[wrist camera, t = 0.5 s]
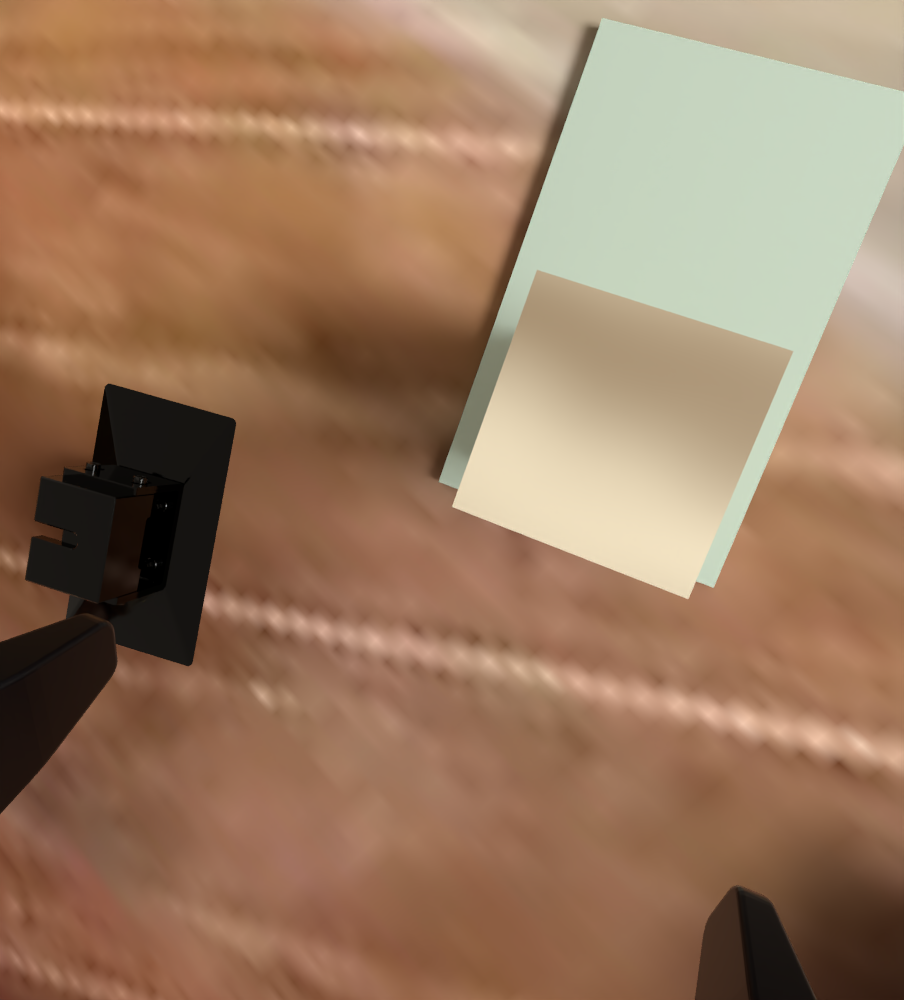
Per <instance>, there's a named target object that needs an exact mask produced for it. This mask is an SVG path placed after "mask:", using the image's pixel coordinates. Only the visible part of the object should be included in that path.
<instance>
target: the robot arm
mask: <svg viewBox="0 0 904 1000" xmlns="http://www.w3.org/2000/svg"><path fill="white" fill-rule="evenodd" d="M116 666H117V652H116V643H115V634H114V628H113V625H112V624H111V623H110V622H109V621H106V620H104V619H102V618H99V617H97V616H94V615H92V614H80V615H76V616H74V617H71V618H68V619H65V620H62V621H59V622H56V623H53V624H51V625H48V626H45V627H42V628H39V629H36V630H33V631H31V632H28V633H25V634H22V635H19V636H16V637H13V638H10V639H8V640H5V641H2V642H0V814H1V813H2V812H3V810H4V809H5V808H6V807H7V806H8V805H9V804H10V803H11V802H12V801H13V800H14V798H15V797H16V796H17V795H18V794H19V793H20V792H21V791H22V790H23V789H24V788H25V786H26V785H27V784H28V783H29V782H30V781H31V780H32V779H33V778H34V776H35V775H36V774H37V773H38V772H39V771H40V770H41V769H42V767H43V766H44V765H45V764H46V763H47V761H48V760H49V759H50V758H51V756H52V755H53V754H54V753H55V751H56V750H57V749H58V747H59V746H60V745H61V743H62V742H63V741H64V739H65V738H66V737H67V735H68V734H69V733H70V732H71V730H72V729H73V728H74V726H75V725H76V724H77V722H78V721H79V720H80V718H81V717H82V716H83V714H84V713H85V712H86V710H87V709H88V708H89V706H90V705H91V704H92V702H93V701H94V700H95V698H96V697H97V696H98V694H99V693H100V692H101V690H102V689H103V688H104V687H105V685H106V684H107V683H108V681H109V680H110V679H111V677H112V675H113V674H114V672H115V669H116ZM695 1000H817V999H816V997H815V995H814V993H813V990H812V988H811V986H810V984H809V982H808V979H807V977H806V975H805V973H804V971H803V968H802V966H801V964H800V962H799V960H798V958H797V955H796V953H795V951H794V949H793V947H792V944H791V942H790V940H789V938H788V936H787V933H786V931H785V929H784V927H783V925H782V923H781V920H780V918H779V916H778V914H777V912H776V909H775V907H774V905H773V904H772V902H771V901H770V900H769V899H768V898H767V897H765V896H764V895H761V894H759V893H757V892H754V891H752V890H750V889H747V888H745V887H742V886H739V885H736V886H733V887H732V888H731V889H730V890H729V891H728V892H727V894H726V895H725V896H724V898H723V899H722V900H721V901H720V903H719V904H718V905H717V907H716V908H715V909H714V911H713V912H712V913H711V915H710V916H709V918H708V920H707V923H706V926H705V930H704V934H703V941H702V949H701V957H700V965H699V972H698V980H697V988H696V996H695Z"/></svg>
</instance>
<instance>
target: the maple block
mask: <svg viewBox="0 0 904 1000" xmlns="http://www.w3.org/2000/svg"><path fill="white" fill-rule="evenodd" d="M792 353H793V351H791V350H788V349H785V348H782V347H779V346H776V345H773V344H769V343H766V342H763V341H760V340H757V339H754V338H750V337H747V336H744V335H741V334H738V333H735V332H732V331H728V330H725V329H722V328H719V327H716V326H713V325H710V324H706V323H703V322H700V321H697V320H694V319H691V318H687V317H684V316H681V315H678V314H675V313H672V312H669V311H665V310H662V309H659V308H656V307H653V306H650V305H646V304H643V303H640V302H637V301H634V300H631V299H628V298H624V297H621V296H618V295H615V294H612V293H609V292H606V291H602V290H599V289H596V288H593V287H590V286H587V285H583V284H580V283H577V282H574V281H571V280H568V279H565V278H561V277H558V276H555V275H552V274H549V273H546V272H542V271H539V270H537V271H536V274H535V277H534V280H533V282H532V285H531V288H530V291H529V294H528V296H527V299H526V302H525V305H524V307H523V310H522V313H521V316H520V319H519V321H518V324H517V327H516V330H515V333H514V335H513V338H512V341H511V344H510V347H509V349H508V352H507V355H506V358H505V361H504V363H503V366H502V369H501V372H500V374H499V377H498V380H497V383H496V386H495V388H494V391H493V394H492V397H491V400H490V402H489V405H488V408H487V411H486V414H485V416H484V419H483V422H482V425H481V428H480V430H479V433H478V436H477V439H476V441H475V444H474V447H473V450H472V453H471V455H470V458H469V461H468V464H467V467H466V469H465V472H464V475H463V478H462V481H461V483H460V486H459V489H458V492H457V494H456V497H455V500H454V503H453V506H452V507H454V508H456V509H459V510H461V511H464V512H467V513H469V514H472V515H474V516H477V517H479V518H482V519H484V520H487V521H490V522H492V523H495V524H497V525H500V526H502V527H505V528H507V529H510V530H513V531H515V532H518V533H520V534H523V535H525V536H528V537H530V538H533V539H536V540H538V541H541V542H543V543H546V544H548V545H551V546H554V547H556V548H559V549H561V550H564V551H566V552H569V553H571V554H574V555H577V556H579V557H582V558H584V559H587V560H589V561H592V562H594V563H597V564H600V565H602V566H605V567H607V568H610V569H612V570H615V571H617V572H620V573H623V574H625V575H628V576H630V577H633V578H635V579H638V580H640V581H643V582H646V583H648V584H651V585H653V586H656V587H658V588H661V589H664V590H666V591H669V592H671V593H674V594H676V595H679V596H681V597H684V598H687V599H688V598H689V596H690V594H691V591H692V589H693V587H694V584H695V582H696V580H697V577H698V575H699V573H700V570H701V568H702V565H703V563H704V561H705V558H706V556H707V554H708V551H709V549H710V547H711V544H712V542H713V540H714V537H715V535H716V532H717V530H718V528H719V525H720V523H721V521H722V518H723V516H724V514H725V511H726V509H727V507H728V504H729V502H730V500H731V497H732V495H733V492H734V490H735V488H736V485H737V483H738V481H739V478H740V476H741V474H742V471H743V469H744V467H745V464H746V462H747V459H748V457H749V455H750V452H751V450H752V448H753V445H754V443H755V441H756V438H757V436H758V434H759V431H760V429H761V426H762V424H763V422H764V419H765V417H766V415H767V412H768V410H769V408H770V405H771V403H772V401H773V398H774V396H775V394H776V391H777V389H778V386H779V384H780V382H781V379H782V377H783V375H784V372H785V370H786V368H787V365H788V363H789V361H790V358H791V356H792Z"/></svg>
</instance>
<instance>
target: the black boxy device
mask: <svg viewBox="0 0 904 1000" xmlns="http://www.w3.org/2000/svg"><path fill="white" fill-rule="evenodd" d="M235 427H236V422H235V420H234V419H233V418H229V417H226V416H222V415H219V414H215V413H212V412H208V411H205V410H201V409H197V408H194V407H190V406H187V405H183V404H180V403H176V402H173V401H169V400H166V399H162V398H159V397H155V396H151V395H148V394H144V393H141V392H137V391H134V390H130V389H127V388H123V387H120V386H116V385H112V384H107V385H106V386H105V389H104V395H103V401H102V407H101V413H100V419H99V425H98V431H97V437H96V443H95V449H94V455H93V461H92V462H86V466H75V467H64V472H63V475H55V476H42V477H41V479H40V485H39V492H38V498H37V505H36V511H35V518H34V520H35V521H37V522H40V523H43V524H46V525H50V526H53V527H56V528H60V529H63V535H62V541H59V540H56V539H53V538H50V537H46V536H43V535H41V536H35V537H32V538H31V544H30V550H29V557H28V563H27V570H26V576H25V580H26V581H29V582H32V583H35V584H38V585H41V586H44V587H47V588H50V589H54V590H57V591H60V592H63V593H66V594H69V595H70V598H69V604H68V609H67V615H66V619H68V618H71V617H74V616H76V615H80V614H92V615H94V616H97V617H99V618H102V619H104V620H106V621H109V622H110V623H111V624H112V625H113V628H114V634H115V643H116V644H118V645H121V646H125V647H128V648H131V649H134V650H138V651H141V652H144V653H147V654H150V655H154V656H157V657H160V658H163V659H167V660H170V661H173V662H176V663H179V664H183V665H186V666H190V665H191V664H192V662H193V657H194V652H195V646H196V641H197V635H198V630H199V624H200V619H201V613H202V608H203V602H204V597H205V591H206V586H207V580H208V575H209V570H210V564H211V559H212V553H213V548H214V542H215V537H216V531H217V526H218V520H219V515H220V509H221V504H222V498H223V493H224V487H225V482H226V477H227V471H228V466H229V460H230V455H231V449H232V444H233V438H234V433H235Z"/></svg>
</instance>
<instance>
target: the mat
mask: <svg viewBox="0 0 904 1000" xmlns="http://www.w3.org/2000/svg"><path fill="white" fill-rule="evenodd" d="M903 145H904V92H903V91H899V90H895V89H891V88H887V87H883V86H879V85H874V84H870V83H866V82H862V81H858V80H854V79H850V78H846V77H842V76H838V75H834V74H829V73H825V72H821V71H817V70H813V69H809V68H805V67H801V66H797V65H793V64H789V63H784V62H780V61H776V60H772V59H768V58H764V57H760V56H756V55H752V54H748V53H744V52H740V51H735V50H731V49H727V48H723V47H719V46H715V45H711V44H707V43H703V42H699V41H695V40H690V39H686V38H682V37H678V36H674V35H670V34H666V33H662V32H658V31H654V30H650V29H645V28H641V27H637V26H633V25H629V24H625V23H621V22H617V21H613V20H609V19H605V18H602V20H601V23H600V26H599V29H598V31H597V34H596V37H595V40H594V43H593V46H592V48H591V51H590V54H589V57H588V60H587V63H586V65H585V68H584V71H583V74H582V77H581V80H580V82H579V85H578V88H577V91H576V94H575V97H574V99H573V102H572V105H571V108H570V111H569V114H568V116H567V119H566V122H565V125H564V128H563V131H562V133H561V136H560V139H559V142H558V145H557V148H556V150H555V153H554V156H553V159H552V162H551V165H550V167H549V170H548V173H547V176H546V179H545V182H544V184H543V187H542V190H541V193H540V196H539V199H538V201H537V204H536V207H535V210H534V213H533V216H532V218H531V221H530V224H529V227H528V230H527V233H526V235H525V238H524V241H523V244H522V247H521V250H520V252H519V255H518V258H517V261H516V264H515V267H514V269H513V272H512V275H511V278H510V281H509V284H508V286H507V289H506V292H505V295H504V298H503V301H502V303H501V306H500V309H499V312H498V315H497V318H496V320H495V323H494V326H493V329H492V332H491V335H490V337H489V340H488V343H487V346H486V349H485V352H484V354H483V357H482V360H481V363H480V366H479V369H478V371H477V374H476V377H475V380H474V383H473V386H472V388H471V391H470V394H469V397H468V400H467V403H466V405H465V408H464V411H463V414H462V417H461V420H460V422H459V425H458V428H457V431H456V434H455V437H454V439H453V442H452V445H451V448H450V451H449V454H448V456H447V459H446V462H445V465H444V468H443V471H442V473H441V476H440V479H439V482H440V483H443V484H445V485H448V486H451V487H453V488H456V489H459V486H460V483H461V481H462V478H463V475H464V472H465V469H466V467H467V464H468V461H469V458H470V455H471V453H472V450H473V447H474V444H475V441H476V439H477V436H478V433H479V430H480V428H481V425H482V422H483V419H484V416H485V414H486V411H487V408H488V405H489V402H490V400H491V397H492V394H493V391H494V388H495V386H496V383H497V380H498V377H499V374H500V372H501V369H502V366H503V363H504V361H505V358H506V355H507V352H508V349H509V347H510V344H511V341H512V338H513V335H514V333H515V330H516V327H517V324H518V321H519V319H520V316H521V313H522V310H523V307H524V305H525V302H526V299H527V296H528V294H529V291H530V288H531V285H532V282H533V280H534V277H535V274H536V271H537V270H539V271H542V272H546V273H549V274H552V275H555V276H558V277H561V278H565V279H568V280H571V281H574V282H577V283H580V284H583V285H587V286H590V287H593V288H596V289H599V290H602V291H606V292H609V293H612V294H615V295H618V296H621V297H624V298H628V299H631V300H634V301H637V302H640V303H643V304H646V305H650V306H653V307H656V308H659V309H662V310H665V311H669V312H672V313H675V314H678V315H681V316H684V317H687V318H691V319H694V320H697V321H700V322H703V323H706V324H710V325H713V326H716V327H719V328H722V329H725V330H728V331H732V332H735V333H738V334H741V335H744V336H747V337H750V338H754V339H757V340H760V341H763V342H766V343H769V344H773V345H776V346H779V347H782V348H785V349H788V350H791V351H793V353H792V356H791V358H790V361H789V363H788V365H787V368H786V370H785V372H784V375H783V377H782V379H781V382H780V384H779V386H778V389H777V391H776V394H775V396H774V398H773V401H772V403H771V405H770V408H769V410H768V412H767V415H766V417H765V419H764V422H763V424H762V426H761V429H760V431H759V434H758V436H757V438H756V441H755V443H754V445H753V448H752V450H751V452H750V455H749V457H748V459H747V462H746V464H745V467H744V469H743V471H742V474H741V476H740V478H739V481H738V483H737V485H736V488H735V490H734V492H733V495H732V497H731V500H730V502H729V504H728V507H727V509H726V511H725V514H724V516H723V518H722V521H721V523H720V525H719V528H718V530H717V532H716V535H715V537H714V540H713V542H712V544H711V547H710V549H709V551H708V554H707V556H706V558H705V561H704V563H703V565H702V568H701V570H700V573H699V575H698V577H697V580H696V581H697V582H700V583H702V584H705V585H708V586H710V587H713V588H714V585H715V583H716V581H717V578H718V576H719V574H720V571H721V569H722V567H723V564H724V562H725V560H726V557H727V555H728V553H729V550H730V548H731V546H732V543H733V541H734V539H735V536H736V534H737V532H738V529H739V527H740V525H741V522H742V520H743V518H744V516H745V513H746V511H747V509H748V506H749V504H750V502H751V499H752V497H753V495H754V492H755V490H756V488H757V485H758V483H759V481H760V478H761V476H762V474H763V471H764V469H765V467H766V464H767V462H768V460H769V457H770V455H771V453H772V450H773V448H774V446H775V443H776V441H777V439H778V436H779V434H780V432H781V429H782V427H783V425H784V422H785V420H786V418H787V415H788V413H789V411H790V408H791V406H792V404H793V401H794V399H795V397H796V394H797V392H798V390H799V387H800V385H801V383H802V380H803V378H804V376H805V373H806V371H807V369H808V367H809V364H810V362H811V360H812V357H813V355H814V353H815V350H816V348H817V346H818V343H819V341H820V339H821V336H822V334H823V332H824V329H825V327H826V325H827V322H828V320H829V318H830V315H831V313H832V311H833V308H834V306H835V304H836V301H837V299H838V297H839V294H840V292H841V290H842V287H843V285H844V283H845V280H846V278H847V276H848V273H849V271H850V269H851V266H852V264H853V262H854V259H855V257H856V255H857V252H858V250H859V248H860V245H861V243H862V241H863V238H864V236H865V234H866V231H867V229H868V227H869V224H870V222H871V220H872V217H873V215H874V213H875V211H876V208H877V206H878V204H879V201H880V199H881V197H882V194H883V192H884V190H885V187H886V185H887V183H888V180H889V178H890V176H891V173H892V171H893V169H894V166H895V164H896V162H897V159H898V157H899V155H900V152H901V150H902V148H903Z"/></svg>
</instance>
